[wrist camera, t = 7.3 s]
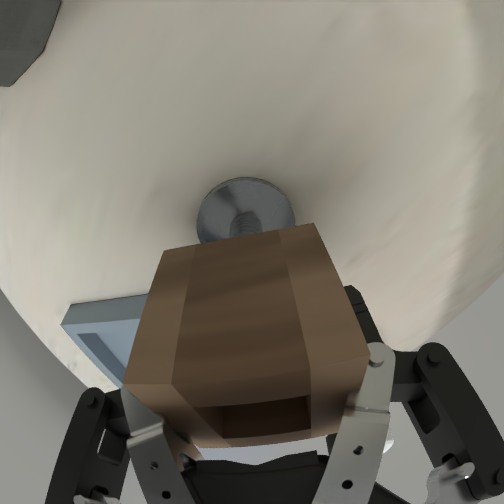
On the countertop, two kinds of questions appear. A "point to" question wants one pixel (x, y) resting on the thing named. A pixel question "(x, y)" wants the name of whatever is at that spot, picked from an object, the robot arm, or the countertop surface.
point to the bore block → (248, 341)
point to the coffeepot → (23, 34)
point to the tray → (106, 332)
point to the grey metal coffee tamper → (243, 210)
